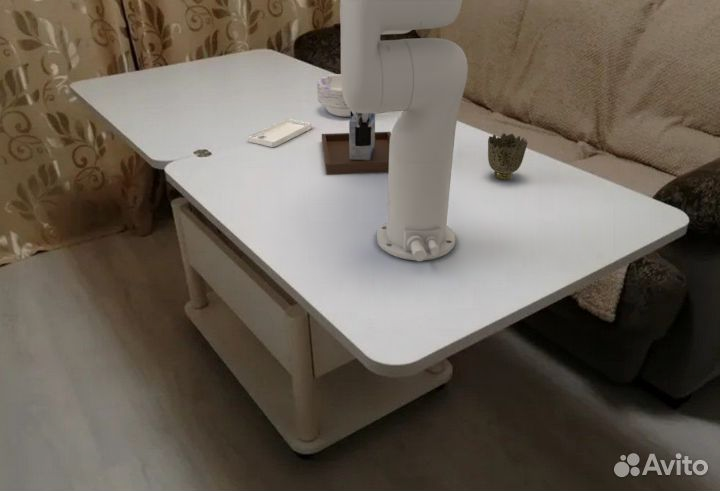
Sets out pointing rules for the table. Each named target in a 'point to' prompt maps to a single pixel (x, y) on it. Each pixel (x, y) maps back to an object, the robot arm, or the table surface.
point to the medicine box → (361, 151)
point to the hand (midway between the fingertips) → (360, 137)
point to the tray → (339, 154)
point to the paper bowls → (332, 95)
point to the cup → (505, 155)
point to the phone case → (279, 132)
